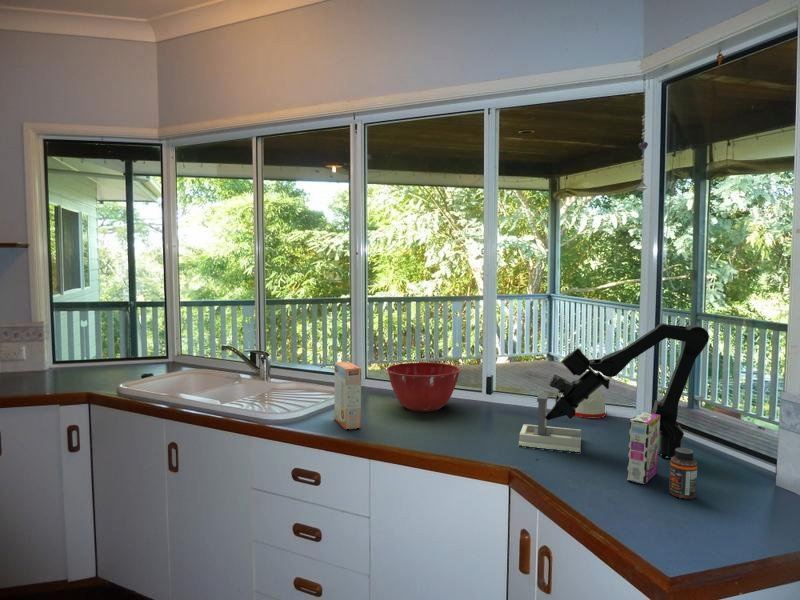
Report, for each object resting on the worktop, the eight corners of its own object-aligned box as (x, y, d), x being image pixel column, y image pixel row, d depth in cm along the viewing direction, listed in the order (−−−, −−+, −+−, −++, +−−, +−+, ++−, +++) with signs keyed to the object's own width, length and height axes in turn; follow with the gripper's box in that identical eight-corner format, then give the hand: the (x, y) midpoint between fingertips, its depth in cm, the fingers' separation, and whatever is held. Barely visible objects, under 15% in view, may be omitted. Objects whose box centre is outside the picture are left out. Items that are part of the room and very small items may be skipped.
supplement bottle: (663, 492, 139) (664, 447, 139) (681, 488, 141) (683, 444, 141) (683, 501, 134) (684, 455, 133) (701, 498, 136) (703, 452, 135)
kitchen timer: (608, 419, 202) (610, 378, 201) (569, 417, 205) (570, 377, 204) (602, 409, 216) (604, 371, 215) (565, 407, 219) (566, 369, 218)
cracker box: (362, 428, 190) (362, 367, 188) (344, 430, 188) (344, 369, 186) (350, 417, 203) (350, 360, 201) (333, 419, 201) (333, 361, 199)
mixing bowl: (378, 401, 227) (378, 363, 226) (443, 396, 236) (444, 359, 235) (398, 420, 200) (399, 377, 199) (472, 413, 209) (472, 372, 208)
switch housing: (580, 439, 180) (581, 428, 180) (580, 453, 167) (580, 441, 167) (523, 433, 186) (523, 423, 185) (518, 446, 172) (519, 435, 172)
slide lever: (551, 433, 180) (552, 393, 179) (549, 441, 172) (550, 399, 171) (535, 431, 182) (535, 391, 181) (532, 439, 174) (533, 397, 173)
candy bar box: (646, 486, 143) (648, 423, 142) (626, 481, 146) (628, 419, 145) (658, 473, 151) (661, 413, 150) (639, 469, 155) (641, 410, 153)
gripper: (566, 361, 182) (531, 392, 186) (564, 372, 164) (525, 406, 169) (591, 387, 180) (555, 418, 184) (592, 401, 162) (551, 435, 167)
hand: (546, 418), depth 176 cm, fingers closed, pressing on slide lever
